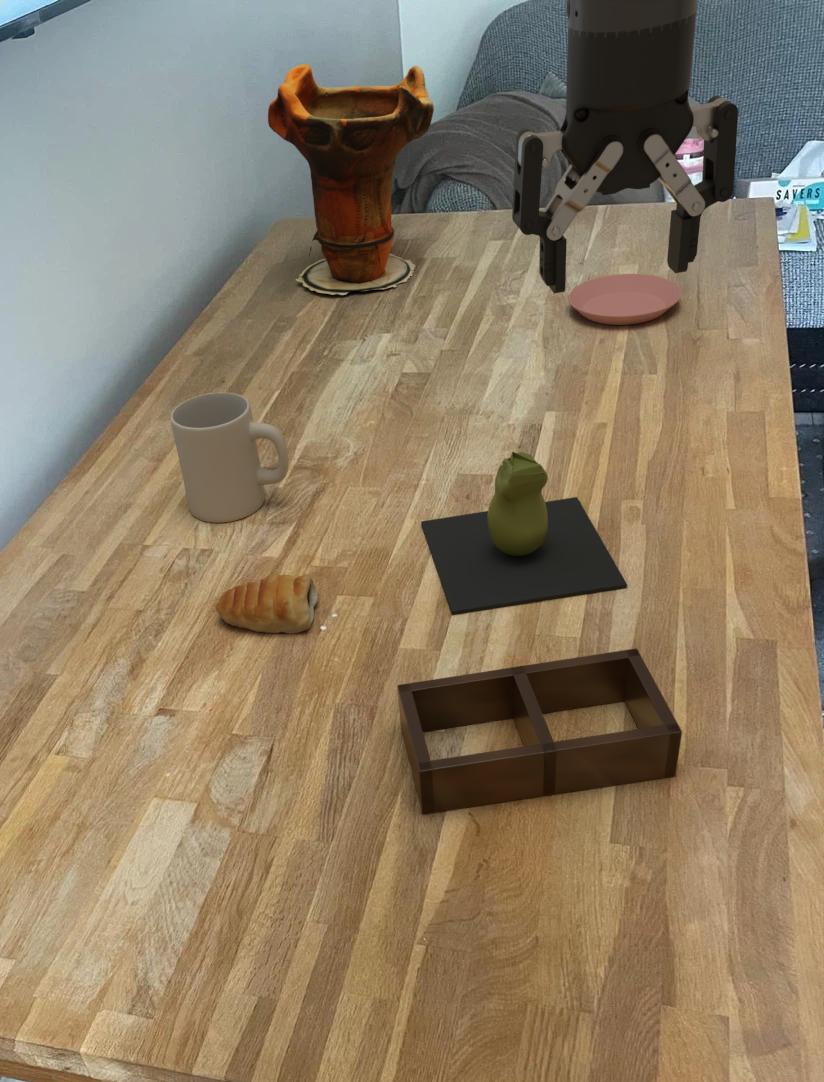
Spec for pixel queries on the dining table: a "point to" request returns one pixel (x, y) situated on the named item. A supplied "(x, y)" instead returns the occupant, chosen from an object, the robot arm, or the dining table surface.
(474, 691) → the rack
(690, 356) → the dining table surface
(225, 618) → the pastry
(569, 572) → the mat
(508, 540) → the green rounded tall piece
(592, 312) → the plate
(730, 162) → the robot arm
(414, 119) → the decorative vase
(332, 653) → the dining table surface
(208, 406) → the mug
